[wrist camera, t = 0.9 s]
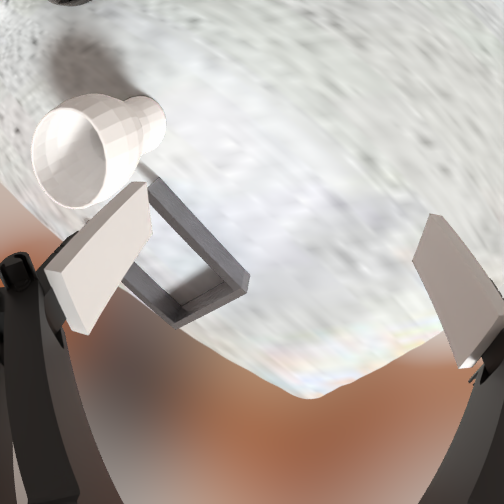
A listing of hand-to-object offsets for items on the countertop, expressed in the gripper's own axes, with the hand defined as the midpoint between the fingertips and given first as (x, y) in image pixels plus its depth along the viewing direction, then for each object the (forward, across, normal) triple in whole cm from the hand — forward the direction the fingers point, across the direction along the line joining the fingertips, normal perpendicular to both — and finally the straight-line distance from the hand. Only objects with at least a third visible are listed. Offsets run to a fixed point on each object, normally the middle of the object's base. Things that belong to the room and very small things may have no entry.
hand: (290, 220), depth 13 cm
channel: (+23, -16, -19) cm, 34 cm away
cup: (+23, -18, 0) cm, 30 cm away
